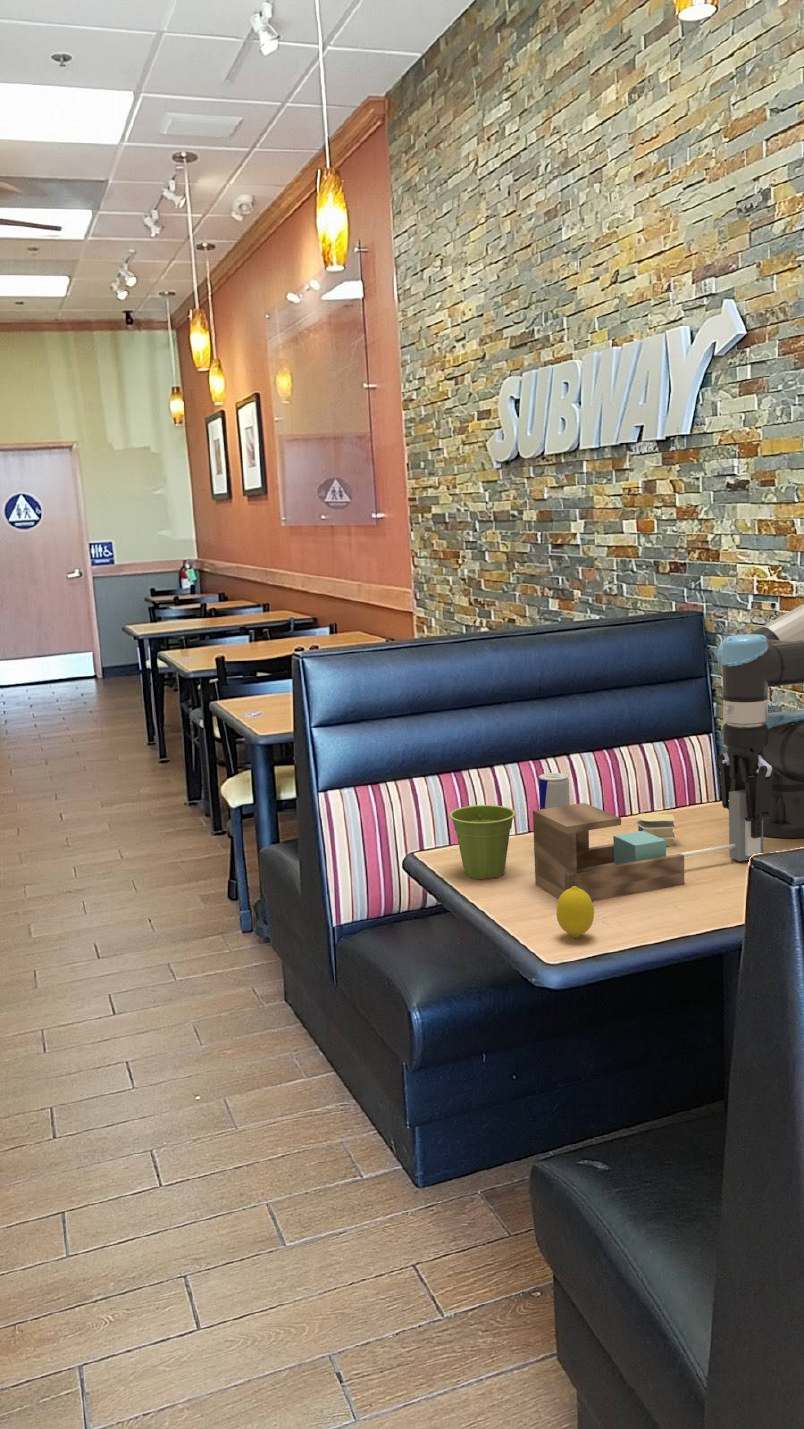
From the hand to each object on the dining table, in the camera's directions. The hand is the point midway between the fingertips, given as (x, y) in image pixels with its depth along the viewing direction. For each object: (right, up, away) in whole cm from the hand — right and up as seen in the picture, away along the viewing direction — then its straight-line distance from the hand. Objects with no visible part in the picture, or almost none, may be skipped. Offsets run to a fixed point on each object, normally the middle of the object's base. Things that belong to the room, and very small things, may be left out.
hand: (746, 851), depth 197 cm
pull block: (-10, -2, -4) cm, 11 cm away
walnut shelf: (-26, -4, -9) cm, 28 cm away
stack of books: (-13, -1, +13) cm, 19 cm away
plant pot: (-47, -4, +1) cm, 47 cm away
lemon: (-36, -9, -32) cm, 49 cm away
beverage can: (-33, -2, +11) cm, 34 cm away
